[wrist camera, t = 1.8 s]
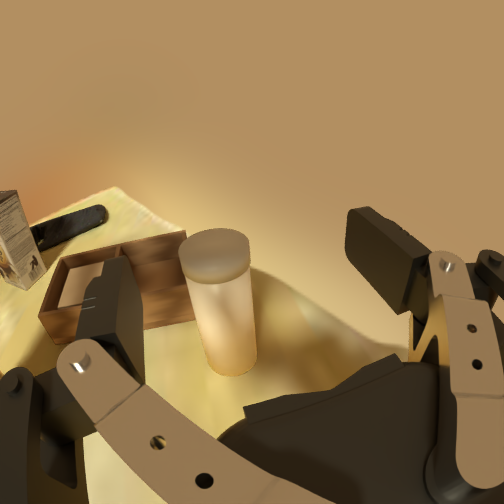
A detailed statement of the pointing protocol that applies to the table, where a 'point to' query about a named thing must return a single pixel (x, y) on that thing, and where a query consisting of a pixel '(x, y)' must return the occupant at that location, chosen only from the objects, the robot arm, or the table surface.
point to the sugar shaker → (221, 297)
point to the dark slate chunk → (67, 226)
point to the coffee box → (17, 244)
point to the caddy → (146, 275)
